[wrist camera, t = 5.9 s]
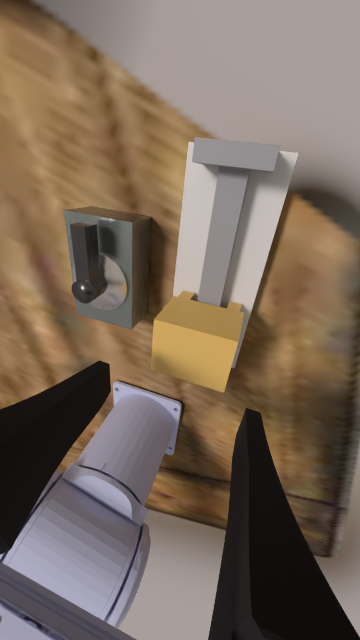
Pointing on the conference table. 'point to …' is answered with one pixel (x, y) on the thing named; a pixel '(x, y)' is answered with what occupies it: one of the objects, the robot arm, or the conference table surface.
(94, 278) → the dark lever handle
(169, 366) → the carriage
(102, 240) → the lever base
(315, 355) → the conference table surface
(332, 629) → the robot arm
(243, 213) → the rail
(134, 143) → the conference table surface
